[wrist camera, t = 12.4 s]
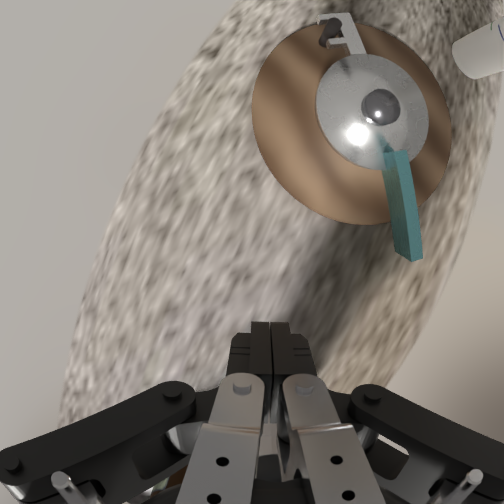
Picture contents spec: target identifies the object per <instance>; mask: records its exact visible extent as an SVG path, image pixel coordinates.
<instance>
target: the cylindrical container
mask: <svg viewBox="0 0 504 504" xmlns="http://www.w3.org/2000/svg"><path fill="white" fill-rule="evenodd" d="M452 55H453V58H454V61H455V63H456V65H457V66H458V68H459V69H460V70H461V71H462V72H463V73H464V74H465V75H466V76H468V77H469V78H471V79H479V78H482V77H486V76H489V75H492V74H495V73H499V72H502V71H504V16H503V17H501V18H499V19H497V20H495V21H493V22H491V23H489V24H487V25H485V26H483V27H481V28H479V29H477V30H475V31H474V32H472V33H470V34H468V35H466V36H464V37H462V38H461V39H459V40H457V41H455V42H454V43H453V45H452Z"/></svg>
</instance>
